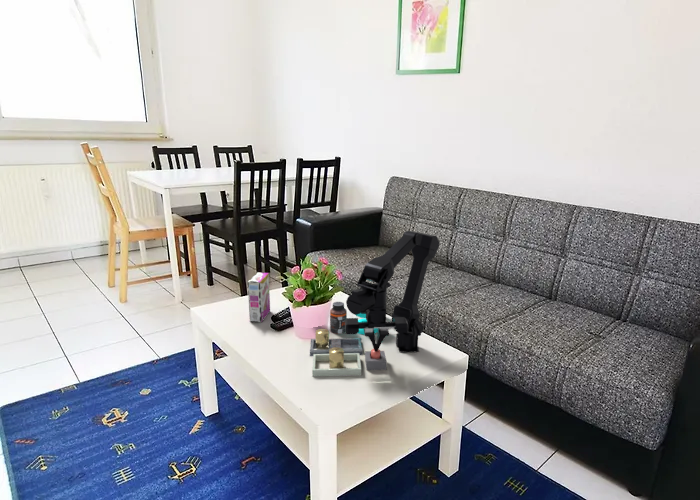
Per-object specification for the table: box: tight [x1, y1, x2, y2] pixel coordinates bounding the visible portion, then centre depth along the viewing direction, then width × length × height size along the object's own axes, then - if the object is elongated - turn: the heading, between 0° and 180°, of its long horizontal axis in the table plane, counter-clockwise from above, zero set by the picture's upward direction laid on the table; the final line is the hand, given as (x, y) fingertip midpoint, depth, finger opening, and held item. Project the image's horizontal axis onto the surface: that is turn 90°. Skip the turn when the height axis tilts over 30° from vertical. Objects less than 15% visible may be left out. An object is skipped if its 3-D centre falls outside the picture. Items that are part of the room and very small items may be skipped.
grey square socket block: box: [364, 350, 387, 371], centre depth 138 cm, size 6×6×4 cm
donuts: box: [355, 313, 378, 336], centre depth 161 cm, size 10×10×10 cm
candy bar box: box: [247, 271, 271, 323], centre depth 172 cm, size 11×5×16 cm, turn 172°
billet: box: [328, 347, 345, 369], centre depth 136 cm, size 4×4×6 cm
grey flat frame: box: [309, 337, 363, 357], centre depth 148 cm, size 17×10×2 cm, turn 92°
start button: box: [370, 348, 381, 359], centre depth 137 cm, size 3×3×3 cm
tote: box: [311, 353, 362, 377], centre depth 136 cm, size 14×9×3 cm, turn 92°
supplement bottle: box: [329, 301, 348, 335], centre depth 159 cm, size 6×6×11 cm
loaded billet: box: [315, 328, 330, 349], centre depth 147 cm, size 4×4×6 cm
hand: (375, 350), depth 137 cm, fingers closed, pressing on start button
